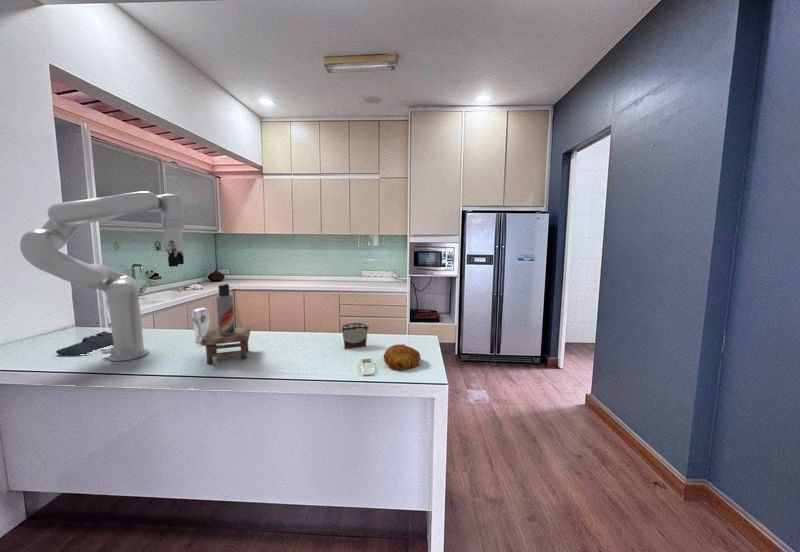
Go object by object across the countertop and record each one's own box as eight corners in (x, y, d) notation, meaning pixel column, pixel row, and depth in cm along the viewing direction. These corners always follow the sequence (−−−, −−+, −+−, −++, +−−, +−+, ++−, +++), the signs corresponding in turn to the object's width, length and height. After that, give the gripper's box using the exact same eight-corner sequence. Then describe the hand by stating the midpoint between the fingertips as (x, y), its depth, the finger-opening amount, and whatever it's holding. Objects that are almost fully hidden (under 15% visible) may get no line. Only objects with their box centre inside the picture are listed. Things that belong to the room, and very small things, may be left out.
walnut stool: (203, 365, 128) (201, 340, 126) (209, 353, 141) (207, 330, 139) (249, 360, 133) (247, 336, 132) (251, 349, 146) (250, 326, 145)
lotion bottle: (233, 334, 134) (230, 284, 131) (217, 335, 132) (213, 285, 130) (235, 330, 139) (232, 282, 136) (220, 331, 138) (217, 283, 135)
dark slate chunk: (48, 357, 137) (46, 346, 136) (96, 340, 158) (95, 330, 158) (85, 357, 137) (84, 346, 136) (128, 340, 159) (127, 330, 158)
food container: (366, 342, 156) (365, 321, 155) (369, 346, 150) (369, 324, 149) (339, 345, 152) (338, 323, 151) (341, 349, 146) (341, 327, 145)
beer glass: (214, 338, 160) (212, 307, 158) (204, 343, 153) (202, 311, 151) (200, 338, 161) (198, 307, 159) (190, 342, 154) (187, 310, 152)
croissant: (381, 375, 125) (380, 356, 123) (386, 355, 140) (385, 337, 138) (420, 376, 124) (420, 356, 122) (420, 355, 139) (420, 337, 137)
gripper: (168, 224, 147) (171, 263, 150) (156, 224, 131) (159, 267, 134) (188, 225, 150) (191, 263, 152) (178, 224, 134) (181, 267, 136)
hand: (176, 265), depth 143 cm, fingers open, 9 cm apart
